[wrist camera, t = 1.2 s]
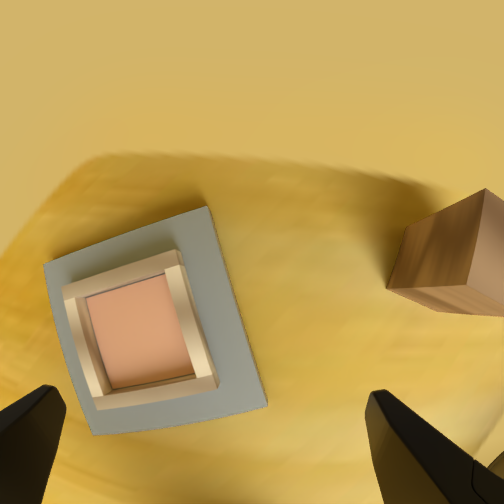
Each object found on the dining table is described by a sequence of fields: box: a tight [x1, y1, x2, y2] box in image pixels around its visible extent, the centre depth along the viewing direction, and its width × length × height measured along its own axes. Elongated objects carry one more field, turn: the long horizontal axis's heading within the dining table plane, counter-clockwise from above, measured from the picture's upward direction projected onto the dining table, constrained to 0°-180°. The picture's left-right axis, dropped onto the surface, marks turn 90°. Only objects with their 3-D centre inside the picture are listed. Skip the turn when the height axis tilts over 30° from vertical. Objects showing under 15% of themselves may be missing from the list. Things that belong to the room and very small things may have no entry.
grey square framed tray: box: [43, 206, 268, 435], centre depth 20 cm, size 14×14×3 cm
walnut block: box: [387, 188, 504, 317], centre depth 17 cm, size 5×5×10 cm
